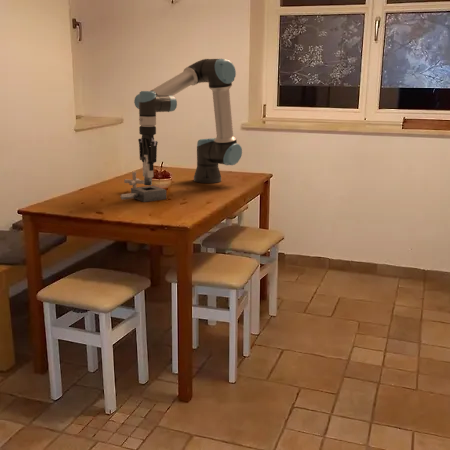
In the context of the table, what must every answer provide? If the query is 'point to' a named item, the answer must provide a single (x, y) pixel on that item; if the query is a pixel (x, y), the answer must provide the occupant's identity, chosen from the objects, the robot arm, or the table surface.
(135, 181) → the pipe connector
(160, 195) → the block
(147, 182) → the chuck key
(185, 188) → the table surface
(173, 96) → the robot arm
